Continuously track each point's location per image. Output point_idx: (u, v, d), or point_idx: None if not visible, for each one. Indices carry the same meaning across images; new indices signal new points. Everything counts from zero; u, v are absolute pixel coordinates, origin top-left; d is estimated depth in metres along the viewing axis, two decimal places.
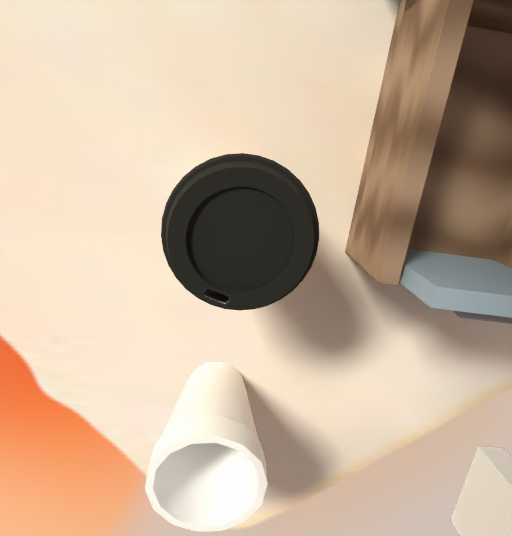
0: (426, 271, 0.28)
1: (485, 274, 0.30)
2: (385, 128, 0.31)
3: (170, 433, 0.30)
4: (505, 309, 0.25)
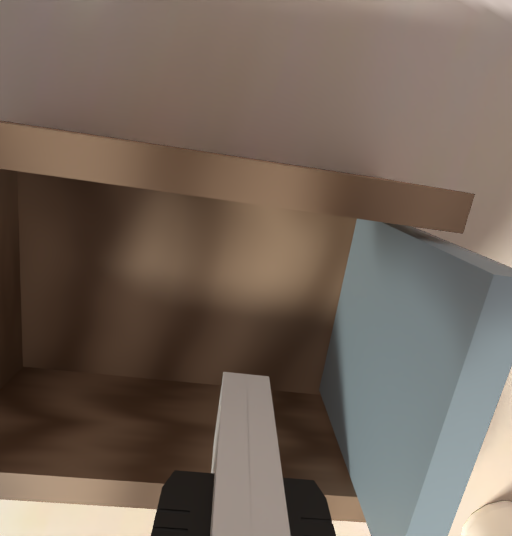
0: (363, 476, 0.17)
1: (380, 345, 0.17)
2: None
3: None
4: (455, 475, 0.13)
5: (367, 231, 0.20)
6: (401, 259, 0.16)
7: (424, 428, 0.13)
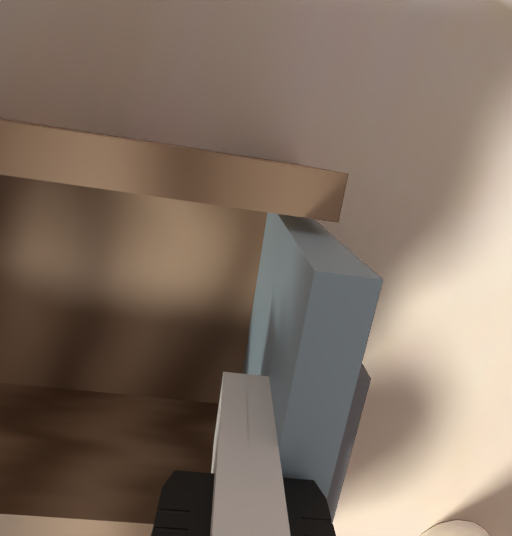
0: None
1: (262, 355, 0.15)
2: None
3: None
4: None
5: (270, 223, 0.18)
6: (279, 254, 0.14)
7: None
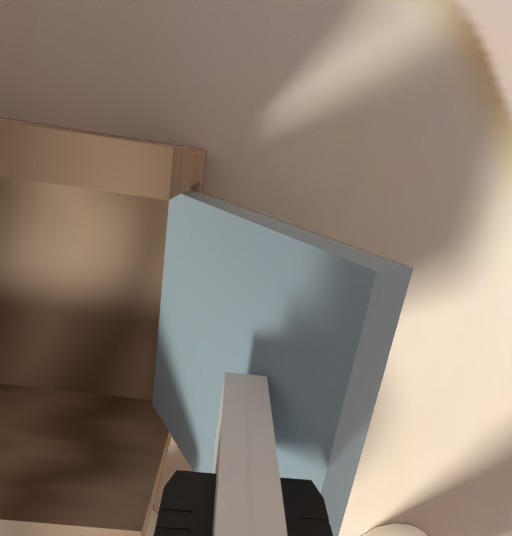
0: None
1: (229, 353, 0.14)
2: None
3: None
4: (342, 486, 0.11)
5: (187, 214, 0.17)
6: (242, 251, 0.13)
7: (307, 449, 0.11)
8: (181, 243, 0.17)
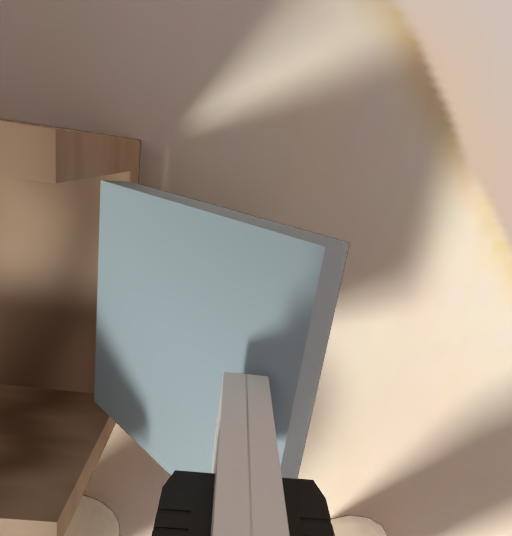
0: None
1: (184, 335, 0.15)
2: None
3: None
4: (300, 435, 0.13)
5: (124, 205, 0.17)
6: (192, 237, 0.14)
7: None
8: (119, 234, 0.17)
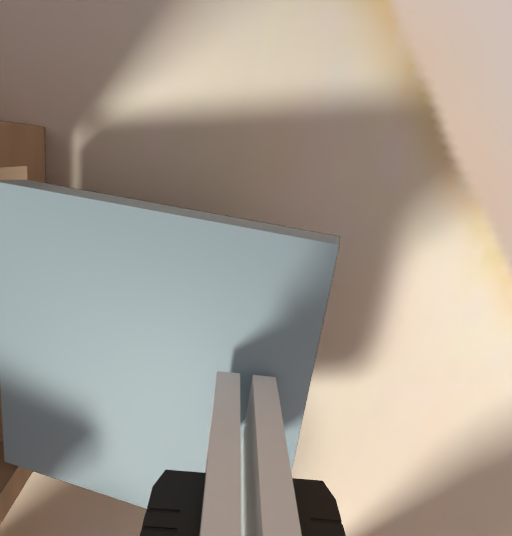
0: None
1: (157, 356, 0.13)
2: None
3: None
4: None
5: (42, 212, 0.13)
6: (163, 246, 0.12)
7: None
8: (35, 250, 0.13)
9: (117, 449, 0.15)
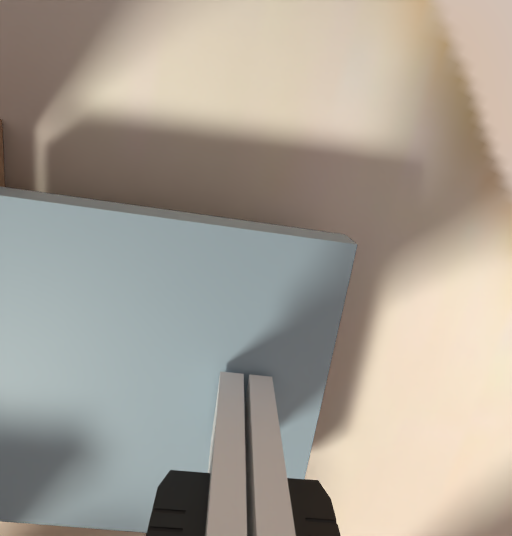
0: None
1: (164, 373, 0.12)
2: None
3: None
4: None
5: (14, 224, 0.11)
6: (171, 255, 0.11)
7: (297, 406, 0.13)
8: (4, 268, 0.11)
9: (116, 478, 0.14)
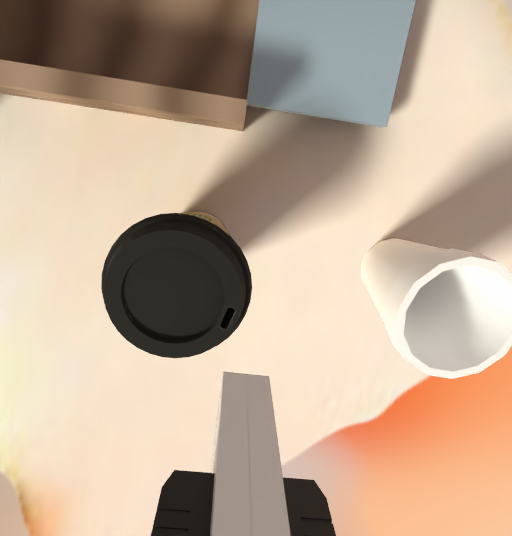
0: (346, 104, 0.32)
1: (342, 22, 0.30)
2: (101, 106, 0.31)
3: (396, 346, 0.29)
4: None
5: None
6: None
7: (395, 42, 0.30)
8: None
9: (314, 81, 0.31)
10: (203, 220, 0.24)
